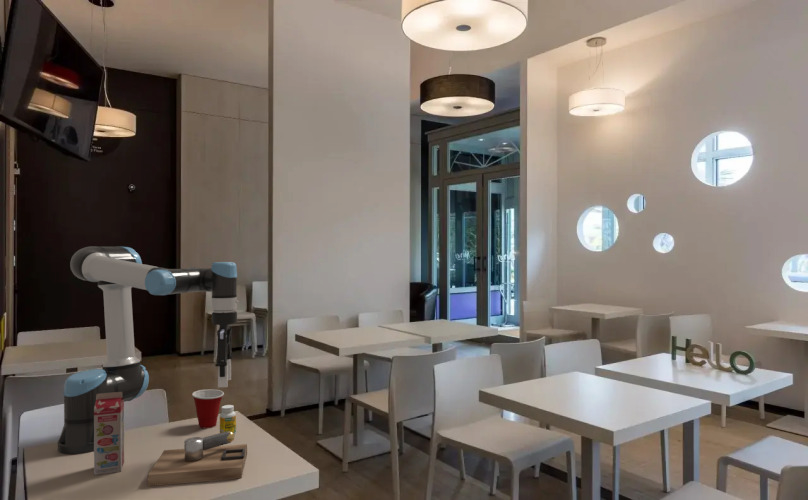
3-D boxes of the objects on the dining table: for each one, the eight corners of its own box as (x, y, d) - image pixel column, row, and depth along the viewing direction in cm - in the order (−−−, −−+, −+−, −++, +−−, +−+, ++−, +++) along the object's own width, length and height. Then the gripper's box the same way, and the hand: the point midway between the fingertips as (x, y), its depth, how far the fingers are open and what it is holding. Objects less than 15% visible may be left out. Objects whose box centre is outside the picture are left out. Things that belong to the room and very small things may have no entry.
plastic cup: (213, 431, 185) (213, 397, 185) (185, 429, 187) (185, 395, 187) (229, 421, 195) (229, 389, 195) (203, 420, 197) (203, 387, 197)
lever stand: (164, 460, 159) (164, 447, 159) (247, 453, 164) (247, 441, 164) (148, 486, 142) (148, 471, 142) (241, 477, 147) (241, 464, 147)
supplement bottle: (231, 430, 186) (231, 403, 186) (238, 434, 182) (238, 406, 182) (216, 434, 182) (216, 406, 182) (223, 438, 178) (223, 409, 178)
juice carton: (98, 466, 155) (98, 391, 155) (124, 463, 157) (123, 388, 157) (94, 475, 149) (93, 396, 149) (120, 471, 151) (120, 394, 151)
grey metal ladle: (189, 462, 149) (189, 444, 149) (181, 457, 153) (181, 440, 153) (238, 447, 160) (238, 431, 160) (229, 443, 164) (229, 427, 164)
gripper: (233, 314, 157) (233, 391, 157) (240, 307, 177) (240, 375, 177) (206, 315, 155) (206, 392, 155) (216, 307, 176) (216, 376, 176)
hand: (224, 383), depth 166 cm, fingers open, 8 cm apart
